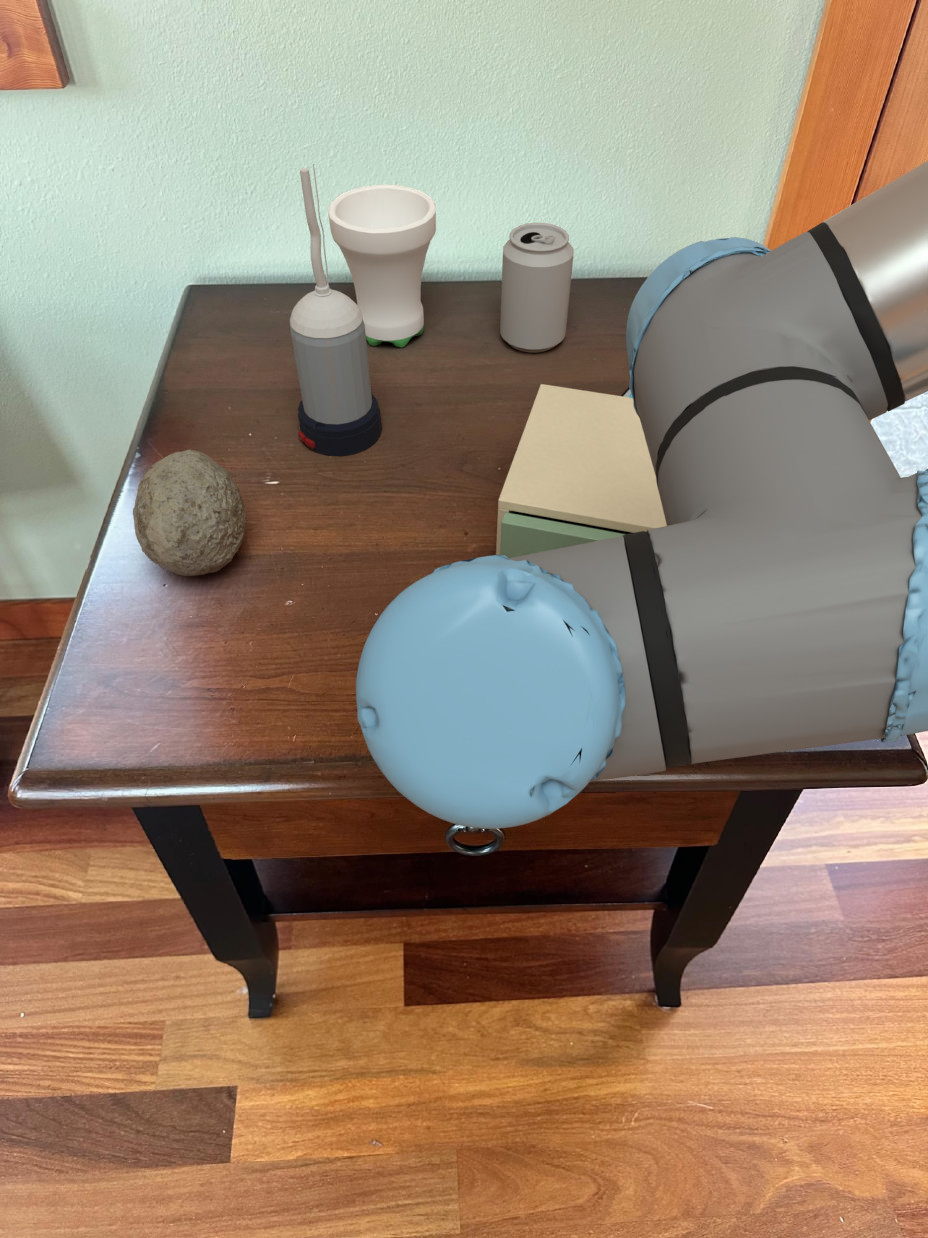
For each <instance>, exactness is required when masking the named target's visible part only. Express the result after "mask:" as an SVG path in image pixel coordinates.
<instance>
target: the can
mask: <svg viewBox="0 0 928 1238" xmlns="http://www.w3.org/2000/svg"><path fill="white" fill-rule="evenodd" d="M508 238H509V239H507V241H506V242H505V243H504V245H503V246H502V265H501V266H502V267H501V295H500V296H501V297H500V320H499V321H500V324H499V334H500V336H501V338H502V339H503V340H504V341H505V342H506V343H508V345H510V347H512V348H513V349H515V350H517V351H519V352H524V353H533V354H534V353H543V352H547V351H549V350H551V349H553V348H554V347H556V346H557V345H558V344H560V343H561V342H563V340H564V339H565V337H566V335H567V334H566V333H567V325H568V324H567V322H568V314H569V303H570V295H571V285H572V274H573V263H574V255H575V253H574V251H575V250H574V247H573V246H572V244H571V243H570V235H569V233H568V232H567V231H566V229H564V228H562V227H561V226H559V225H556V224H553V223H548V222H527V223H524V224H520V225H518V226H516V227H514V228H513V229H512V230H511V231H510V232H509V237H508Z"/></svg>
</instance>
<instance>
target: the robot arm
mask: <svg viewBox="0 0 928 1238" xmlns="http://www.w3.org/2000/svg"><path fill="white" fill-rule="evenodd" d="M626 321H627V322H626V328H625V346H626V347H625V348H626V355H627V359H628V360H627V361H628V362H627V363H628V374H629V380H628V387H629V388H630V391H631V394H632V397H633V400H634V402H633V406H634V409H635V411H636V413H637V415H638V417H639V418H640V422H641V425H642V429H643V432H644V436H645V440H646V443H647V447H648V450H649V454H650V458H651V461H652V465H653V468H654V472H655V476H656V482H657V487H658V491H659V495H660V499H661V503H662V507H663V512H664V516H665V520H666V524H667V526H664V527H660V528H655V529H650V530H647V532H645V531H640V532H636V533H631V534H626V535H623V536H620V537H615V538H610V539H604V540H599V541H594V542H589V543H584V544H579V545H574V546H569V547H564V548H559V549H554V550H549V551H543V552H538V553H533V554H528V555H523V556H518V557H513V558H507V557H506V556H505V555H496V554H493V555H486V556H479V557H474V558H468V559H463V560H459V561H455V562H452V563H449V564H444V565H441V566H439V567H437V568H434V569H433V571H432V572H431V573H430V574H428V575H425V576H424V577H422V578H420V579H418V580H416V581H414V582H413V583H412V584H410V585H408V586H407V587H406V588H405V589H403V590H402V591H400V592H399V594H398V595H396V597H394V599H392V600H391V602H390V603H389V604H387V606H386V607H385V609H384V610H383V611H382V612H381V614H380V615H379V617H378V618H377V620H376V622H375V623H374V625H373V626H372V628H371V630H370V632H369V634H368V636H367V638H366V640H365V642H364V645H363V648H362V651H361V654H360V658H359V662H358V665H357V673H356V679H355V702H356V707H357V708H356V711H357V714H356V715H357V721H358V723H359V726H360V729H361V732H362V736H363V739H364V742H365V744H366V747H367V749H368V751H369V753H370V755H371V757H372V759H373V760H374V762H375V764H376V766H377V767H378V769H379V770H380V772H381V773H382V774H383V776H384V777H385V778H386V780H388V782H389V783H390V784H391V786H393V788H394V789H395V790H396V791H397V792H398V793H399V794H400V795H402V796H403V797H404V798H406V799H407V800H408V801H410V802H411V803H412V804H414V806H416V807H417V808H419V809H421V810H422V811H424V812H426V813H428V814H430V815H432V816H433V817H436V818H437V819H440V820H442V821H445V822H448V823H451V824H454V825H458V826H461V827H467V828H473V829H482V830H489V829H495V830H497V829H506V828H513V827H514V828H515V827H520V826H524V825H527V824H530V823H533V822H535V821H539V820H541V819H543V818H545V817H548V816H550V815H552V814H553V813H554V812H557V810H559V809H561V808H562V807H564V806H566V805H567V804H568V803H569V802H570V801H571V800H573V799H574V798H576V796H577V795H579V794H580V793H581V792H582V791H584V789H585V788H586V787H587V786H588V785H589V783H593V782H598V781H606V780H614V779H620V778H626V777H633V776H641V775H648V774H655V773H661V772H666V771H667V768H674V767H682V766H688V765H693V764H700V763H708V762H715V761H716V762H717V761H723V760H724V761H725V760H730V759H738V758H745V757H752V756H753V757H754V756H760V755H768V754H775V753H781V752H789V751H798V750H805V749H806V750H807V749H813V748H818V747H819V748H821V747H828V746H833V745H834V746H835V745H841V744H842V745H843V744H849V743H856V742H857V743H858V742H864V741H865V742H866V741H871V740H872V741H873V740H879V739H880V742H881V743H896V742H899V741H900V740H901V739H902V737H904V736H909V735H914V734H919V733H925V732H928V468H926V469H925V470H916V472H915V473H913V474H911V475H909V476H903V477H901V475H900V473H899V471H898V469H897V468H896V466H895V465H894V462H893V461H892V459H891V457H890V455H889V454H888V451H887V450H886V448H885V446H884V444H883V443H882V440H881V439H880V437H879V436H878V434H877V432H876V430H875V429H874V427H873V424H872V423H871V420H873V419H875V418H878V417H880V416H882V415H885V414H886V413H887V412H891V411H892V410H895V409H898V408H899V407H901V406H904V405H905V404H906V402H908V401H910V400H912V399H914V398H917V397H919V396H922V395H923V394H925V393H928V160H926V161H924V162H923V163H921V164H919V165H918V166H915V167H914V168H912V169H910V170H909V171H907V172H905V173H904V174H902V175H899V176H898V177H897V178H895V179H893V180H891V181H890V182H887V183H886V184H885V185H883V186H882V187H880V188H878V189H876V190H874V191H873V192H871V193H869V194H868V195H866V196H864V197H862V198H861V199H860V200H858V201H856V202H854V203H853V204H851V205H849V206H848V207H845V208H843V209H842V210H840V211H838V212H837V213H836V214H834V215H832V216H829V218H827V219H825V220H824V221H822V222H820V223H818V224H817V225H815V226H813V227H812V228H810V229H808V230H807V231H804V232H802V233H801V234H799V235H797V236H795V237H793V238H790V239H789V240H787V241H786V242H784V243H782V244H780V245H778V246H777V247H775V248H774V249H772V250H771V249H770V248H769V247H767V246H766V245H764V244H762V243H760V242H757V241H755V240H752V239H749V238H745V237H738V236H732V237H731V236H730V237H724V238H715V239H710V240H709V239H708V240H706V241H705V240H704V241H703V240H700V241H697V242H694V243H691V244H689V245H686V246H684V247H683V248H681V249H679V250H678V251H675V252H673V254H671V255H670V256H668V257H667V258H666V259H664V260H663V261H662V262H661V263H659V265H657V267H656V268H654V270H652V271H651V273H650V274H649V275H648V277H647V278H646V279H645V281H643V283H642V284H641V286H640V288H639V289H638V291H637V293H636V295H635V297H634V299H633V300H632V303H631V305H630V308H629V312H628V315H627V320H626ZM623 537H624V540H623Z"/></svg>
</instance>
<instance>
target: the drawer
mask: <svg viewBox="0 0 928 1238" xmlns="http://www.w3.org/2000/svg"><path fill="white" fill-rule="evenodd" d="M626 534H631V532H626V531H620V530H615V529H609V528H604V527H598V526H593V525H587V524H582V523H576V522H571V521H565V520H560V519H554V518H549V517H543V516H538V515H532V514H527V513H521V512H519V515H517V514H512V513H505V514H504V517H503V520H502V523H501V544H500V555H505V556H506V557H507V558H513V557H518V556H523V555H528V554H533V553H538V552H543V551H549V550H554V549H559V548H564V547H569V546H574V545H579V544H584V543H589V542H594V541H599V540H604V539H610V538H615V537H620V536H623V535H626ZM623 540H624V537H623Z"/></svg>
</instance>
